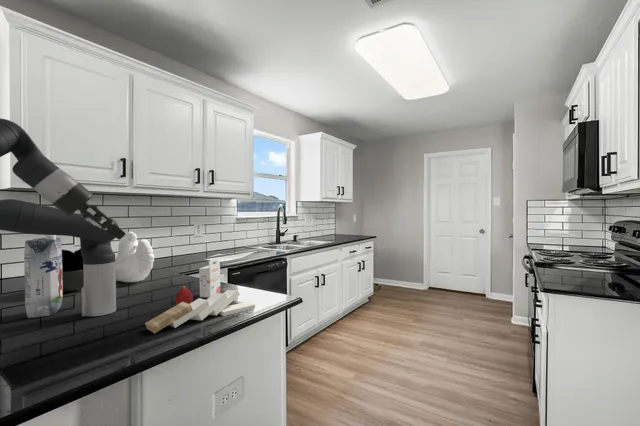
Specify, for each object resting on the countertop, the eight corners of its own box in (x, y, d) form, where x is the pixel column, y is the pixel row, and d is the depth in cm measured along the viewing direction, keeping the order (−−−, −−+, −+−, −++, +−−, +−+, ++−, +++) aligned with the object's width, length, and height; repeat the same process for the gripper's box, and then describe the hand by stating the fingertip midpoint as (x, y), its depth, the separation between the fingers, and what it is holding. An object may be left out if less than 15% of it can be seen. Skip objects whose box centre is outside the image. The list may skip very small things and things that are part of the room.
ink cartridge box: (210, 292, 142) (209, 257, 142) (220, 292, 141) (220, 258, 141) (198, 297, 134) (198, 260, 134) (210, 297, 133) (209, 261, 133)
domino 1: (172, 322, 98) (207, 300, 107) (165, 318, 102) (199, 298, 110) (175, 327, 99) (209, 306, 107) (167, 324, 102) (201, 303, 111)
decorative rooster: (107, 281, 166) (106, 231, 166) (141, 276, 178) (140, 230, 178) (126, 288, 150) (125, 233, 150) (161, 282, 162) (160, 231, 162)
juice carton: (23, 320, 108) (21, 236, 107) (32, 311, 117) (31, 234, 117) (57, 315, 112) (56, 235, 112) (64, 307, 121) (63, 233, 121)
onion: (178, 306, 121) (178, 284, 121) (194, 305, 122) (194, 284, 122) (173, 311, 116) (172, 288, 115) (190, 310, 116) (189, 287, 116)
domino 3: (214, 310, 108) (237, 289, 118) (203, 309, 111) (227, 289, 121) (216, 315, 109) (239, 294, 119) (205, 314, 111) (229, 294, 121)
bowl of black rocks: (38, 300, 132) (37, 252, 132) (36, 291, 147) (36, 248, 147) (98, 291, 145) (97, 248, 145) (91, 284, 160) (90, 245, 160)
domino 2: (199, 314, 103) (225, 293, 113) (188, 314, 106) (214, 293, 116) (201, 320, 104) (227, 298, 114) (190, 319, 107) (216, 297, 116)
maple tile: (151, 327, 94) (190, 304, 102) (145, 323, 98) (182, 301, 106) (154, 333, 94) (192, 310, 103) (147, 329, 98) (184, 307, 106)
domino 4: (223, 312, 110) (255, 304, 118) (216, 308, 113) (247, 301, 122) (223, 318, 110) (255, 310, 118) (216, 314, 113) (247, 307, 122)
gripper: (50, 203, 85) (105, 244, 92) (50, 202, 74) (112, 249, 81) (75, 183, 88) (126, 224, 96) (79, 179, 77) (136, 226, 84)
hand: (120, 235), depth 88 cm, fingers open, 8 cm apart
